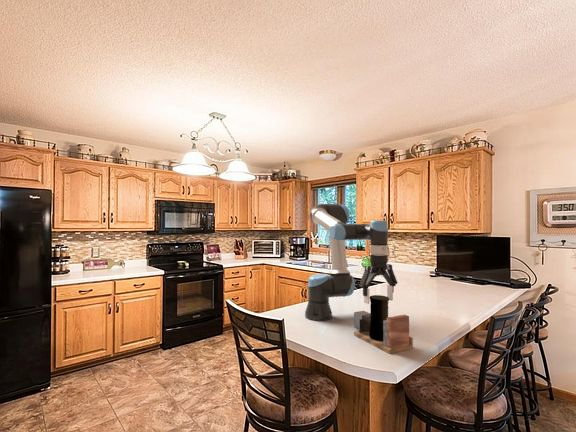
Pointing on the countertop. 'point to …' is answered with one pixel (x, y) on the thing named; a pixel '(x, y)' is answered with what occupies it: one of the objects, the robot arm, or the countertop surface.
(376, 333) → the container
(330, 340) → the countertop surface
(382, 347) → the rack
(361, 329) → the bookend
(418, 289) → the countertop surface
